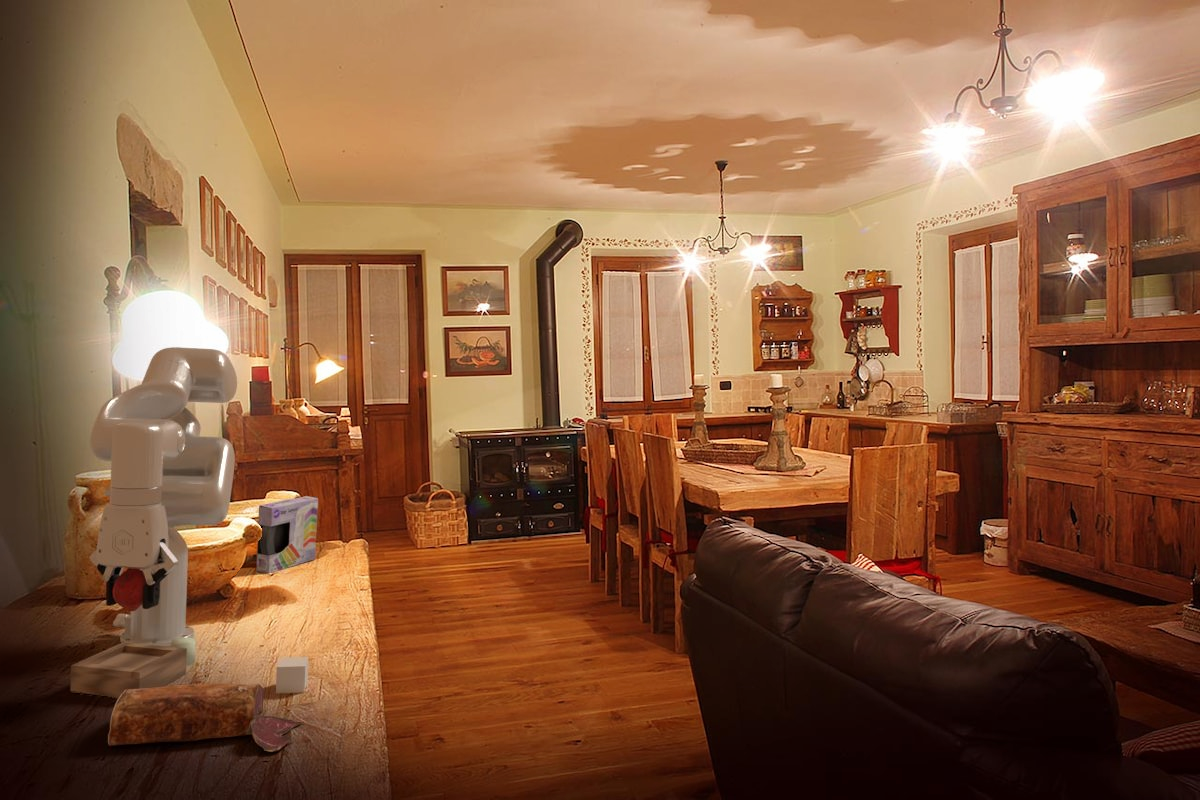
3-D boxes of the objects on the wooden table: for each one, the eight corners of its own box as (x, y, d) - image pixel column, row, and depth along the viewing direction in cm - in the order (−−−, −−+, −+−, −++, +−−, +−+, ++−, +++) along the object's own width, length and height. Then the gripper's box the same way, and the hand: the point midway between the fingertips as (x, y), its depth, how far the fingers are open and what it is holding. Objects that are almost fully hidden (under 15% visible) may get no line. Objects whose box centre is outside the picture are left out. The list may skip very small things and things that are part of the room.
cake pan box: (266, 574, 214) (269, 506, 214) (251, 572, 216) (254, 504, 216) (317, 560, 232) (319, 497, 232) (302, 558, 234) (305, 495, 233)
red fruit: (133, 617, 136) (135, 568, 135) (103, 614, 137) (104, 565, 137) (159, 608, 141) (161, 561, 141) (130, 605, 142) (131, 558, 142)
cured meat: (295, 755, 118) (297, 706, 117) (96, 767, 111) (98, 716, 111) (307, 707, 135) (309, 665, 135) (135, 715, 129) (137, 671, 129)
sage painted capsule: (165, 665, 149) (165, 643, 148) (179, 658, 153) (180, 636, 152) (186, 667, 148) (186, 645, 148) (199, 660, 152) (200, 638, 152)
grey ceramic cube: (275, 693, 139) (276, 667, 138) (279, 683, 143) (280, 657, 143) (304, 692, 140) (305, 666, 139) (307, 682, 144) (308, 657, 144)
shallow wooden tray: (70, 693, 135) (71, 665, 134) (122, 667, 146) (123, 642, 146) (138, 700, 133) (139, 672, 133) (185, 674, 145) (186, 648, 145)
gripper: (71, 496, 136) (68, 607, 137) (169, 503, 134) (165, 615, 134) (105, 491, 144) (101, 595, 144) (198, 497, 141) (194, 603, 142)
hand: (132, 604), depth 139 cm, fingers closed on red fruit, 5 cm apart
